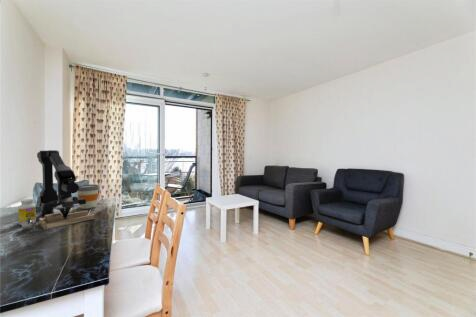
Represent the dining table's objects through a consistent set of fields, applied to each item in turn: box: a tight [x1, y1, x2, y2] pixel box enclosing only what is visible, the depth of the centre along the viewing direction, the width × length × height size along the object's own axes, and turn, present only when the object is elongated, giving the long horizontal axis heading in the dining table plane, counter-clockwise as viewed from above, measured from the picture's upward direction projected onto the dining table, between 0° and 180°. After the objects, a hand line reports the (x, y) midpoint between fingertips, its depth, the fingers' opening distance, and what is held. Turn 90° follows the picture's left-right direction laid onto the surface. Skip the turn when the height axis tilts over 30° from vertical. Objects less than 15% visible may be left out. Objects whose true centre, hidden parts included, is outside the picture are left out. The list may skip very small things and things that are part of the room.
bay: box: [38, 210, 95, 230], centre depth 118 cm, size 13×22×3 cm, turn 141°
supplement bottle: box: [18, 198, 37, 226], centre depth 114 cm, size 7×7×13 cm
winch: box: [21, 217, 35, 232], centre depth 105 cm, size 6×4×7 cm
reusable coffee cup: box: [77, 184, 100, 210], centre depth 147 cm, size 13×12×15 cm
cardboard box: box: [44, 212, 62, 223], centre depth 113 cm, size 6×6×5 cm
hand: (65, 218), depth 117 cm, fingers closed
